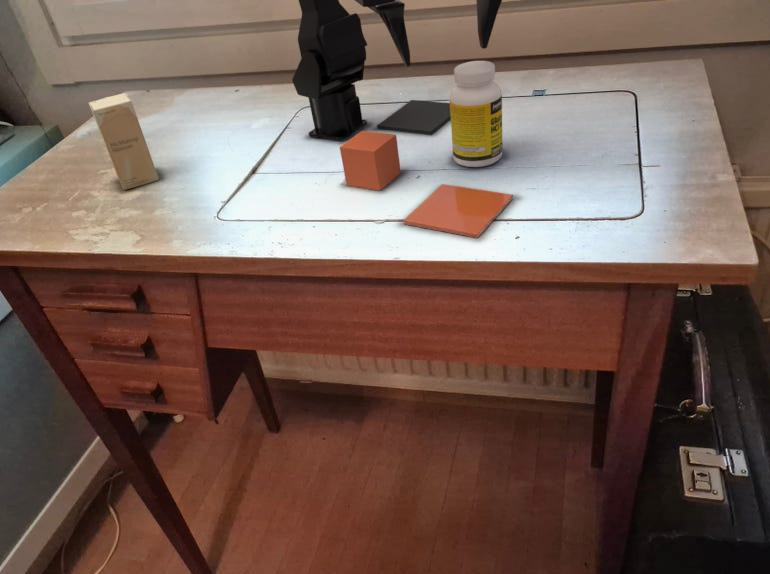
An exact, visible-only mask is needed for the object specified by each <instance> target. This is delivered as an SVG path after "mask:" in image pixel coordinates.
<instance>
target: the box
mask: <svg viewBox="0 0 770 574" xmlns="http://www.w3.org/2000/svg"><path fill="white" fill-rule="evenodd" d="M88 105H89V108H90V110H91V112H92V115H93V118H94V120H95V123H96V125H97V128H98V130H99V133H100V135H101V138H102V140H103V143H104V145H105V148H106V151H107V153H108V156H109V158H110V161H111V163H112V167H113V169H114V171H115V174H116V176H117V179H118V181H119V184H120V186H121V187H122V190H124V191H126V190H130V189H133V188H137V187H140V186H144V185H146V184H150V183H153V182H157V181H159V180H160V178H159V175H158V171H157V169H156V166H155V164H154V161H153V158H152V154H151V153H150V150H149V147H148V144H147V141H146V139H145V136H144V133H143V130H142V127H141V125H140V121H139V119H138V116H137V112H136V110H135V107H134V105H133V102H132V100H131V98H130V96H129V94H128V93H126V92H122V93H119V94H115V95H111V96H106V97H103V98H100V99H98V100H97V99H96V100H93V101H90V102H88Z"/></svg>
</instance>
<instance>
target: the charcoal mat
mask: <svg viewBox="0 0 770 574" xmlns="http://www.w3.org/2000/svg"><path fill="white" fill-rule="evenodd" d="M450 121H451V115H450V102H441V101H428V100H416V99H411V100H410V101H408V102H407V103H405V104H404V105H403V106H401V107H400V108H399V109H397V110H396V111H395V112H394V113H391V115H389V116H387V118H385V119H384V120H382V121H381V122H380V123H378V124H377V125H376V129H377V130H384V131H385V130H386V131H395V132H404V133H411V134H412V133H413V134H421V135H422V134H423V135H430V136H431V135H433V134H434V133H436V132H437V131H438V130H439V129H440V128H442V127H443V126H444V125H445V124H446V123H448V122H450Z"/></svg>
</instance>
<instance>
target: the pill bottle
mask: <svg viewBox="0 0 770 574" xmlns="http://www.w3.org/2000/svg"><path fill="white" fill-rule="evenodd" d="M453 77H454V83H455V84H456V85H455V86H454V87H453V88H452V89H451V90H450V93H449V95H448V96H449V98H448V99H449V103H450V115H451V119H450V128H451V144H452V145H451V146H452V156H453V157H452V158H453V161H454V162H455V163H456V164H457V165H460V166H463V167H468V168H469V167H470V168H481V167H487V166H490V165H493V164H494V163H497V161H499V160H500V159H501V158H502V156H503V145H504V144H503V92H502V88H501V86H500V85H499V84H498V83H497V82H495V81H494V80H495V78H496V66H495V64H494V63H493V62H491V61H488V60H473V61H472V60H471V61H467V62H463V63H460V64H458V65H456V66H455V67H454V69H453Z"/></svg>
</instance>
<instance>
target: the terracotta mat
mask: <svg viewBox="0 0 770 574" xmlns="http://www.w3.org/2000/svg"><path fill="white" fill-rule="evenodd" d="M512 200H514V195H513V194H511V193H503V192H498V191H490V190H484V189H478V188H472V187H471V188H470V187H464V186H457V185H451V184H444V183H442V184H440V186H439V187H437V189H435V190H434V191H433V192H432V193H431V194H430V195H428V197H427V198H425V200H424V201H423V202H422V203H420V204H419V205H418V206H417V207H416V208H415V209H414V210H413V211H411V212H410V214H409V215H408V216H407V217H405V218H404V219H403V224H404V225H406V226H407V225H408V226H413V227H417V228H423V229H429V230H432V231H433V230H435V231H440V232H445V233H450V234H455V235H460V236H465V237H471V238H476V239H478V238H479V237H480V236H481V235H482V233H484V232H485V231H486V229H488V227H489V226H490V225H491V224H492V223H493V221H494V220H495V219H497V217H498V216H499V215H500V214H501V213H502V212H503V210H505V208H506V207H507V206H508V205H509V204H510V202H512Z"/></svg>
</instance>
